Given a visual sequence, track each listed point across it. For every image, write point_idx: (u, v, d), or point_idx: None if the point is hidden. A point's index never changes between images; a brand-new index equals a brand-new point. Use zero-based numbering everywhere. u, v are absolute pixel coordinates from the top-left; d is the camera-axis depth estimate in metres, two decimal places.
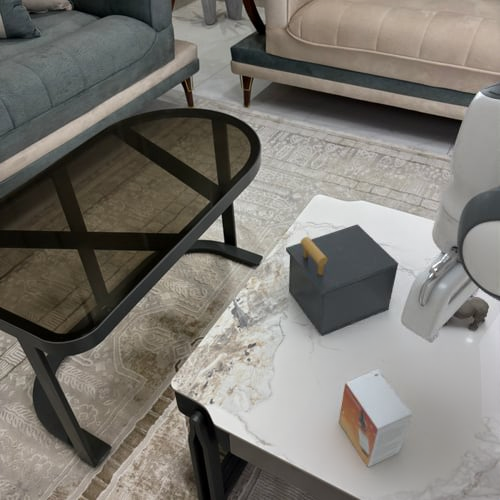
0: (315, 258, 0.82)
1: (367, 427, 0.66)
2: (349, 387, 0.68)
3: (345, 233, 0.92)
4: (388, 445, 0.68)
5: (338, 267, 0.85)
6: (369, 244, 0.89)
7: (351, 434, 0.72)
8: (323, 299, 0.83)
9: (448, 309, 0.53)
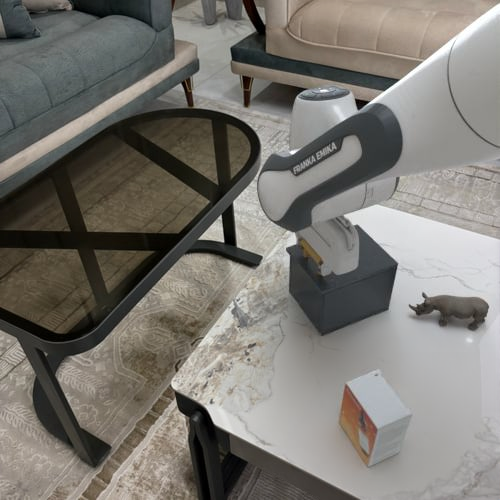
0: (315, 258, 0.82)
1: (367, 427, 0.66)
2: (349, 387, 0.68)
3: None
4: (388, 445, 0.68)
5: None
6: (369, 244, 0.89)
7: (351, 434, 0.72)
8: (323, 299, 0.83)
9: None
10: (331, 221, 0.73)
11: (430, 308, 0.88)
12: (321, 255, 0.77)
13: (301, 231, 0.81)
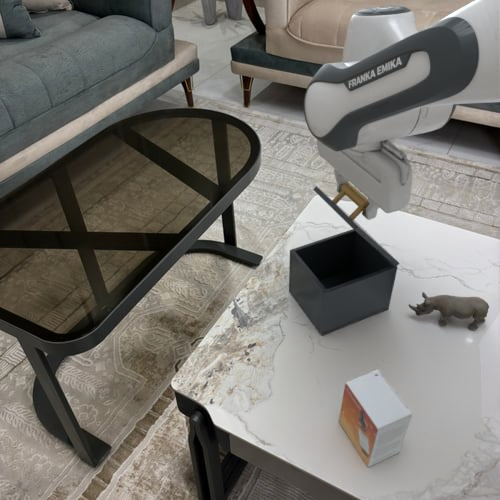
0: (361, 199, 0.78)
1: (367, 427, 0.66)
2: (350, 387, 0.68)
3: (353, 220, 0.91)
4: (388, 445, 0.68)
5: (361, 228, 0.82)
6: None
7: (351, 434, 0.72)
8: (323, 299, 0.83)
9: None
10: (383, 155, 0.69)
11: (430, 308, 0.88)
12: (369, 194, 0.74)
13: (345, 172, 0.78)
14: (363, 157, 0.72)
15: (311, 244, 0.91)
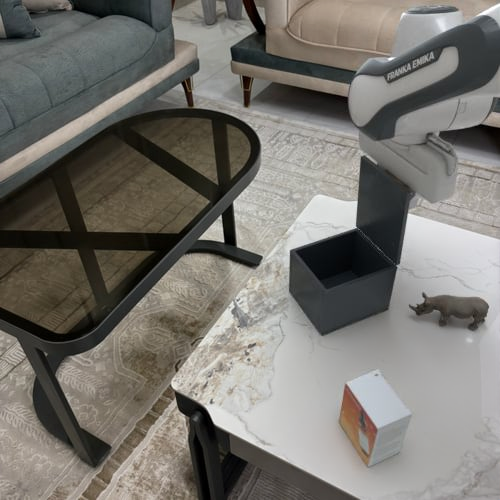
0: None
1: (367, 427, 0.66)
2: (350, 387, 0.68)
3: None
4: (388, 445, 0.68)
5: None
6: None
7: (351, 434, 0.72)
8: (323, 299, 0.83)
9: None
10: (428, 147, 0.72)
11: (430, 308, 0.88)
12: (413, 186, 0.77)
13: (388, 165, 0.81)
14: (408, 150, 0.75)
15: (311, 244, 0.91)
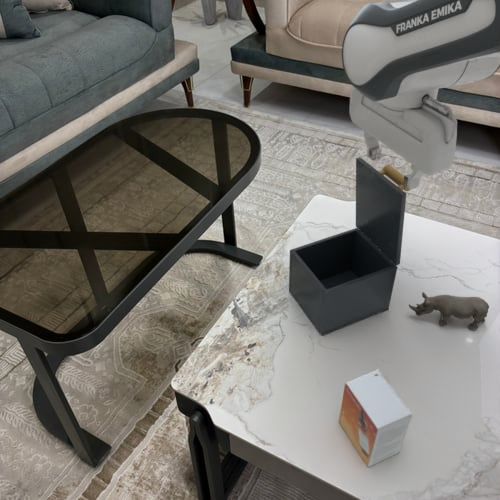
0: None
1: (367, 427, 0.66)
2: (349, 387, 0.68)
3: None
4: (388, 445, 0.68)
5: None
6: None
7: (351, 434, 0.72)
8: (323, 299, 0.83)
9: None
10: (424, 112, 0.65)
11: (430, 308, 0.88)
12: (408, 157, 0.69)
13: (381, 136, 0.74)
14: (402, 116, 0.68)
15: (311, 244, 0.91)
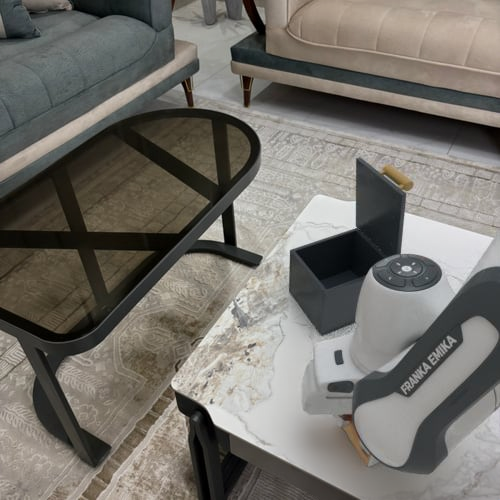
0: (406, 178, 0.80)
1: None
2: None
3: None
4: None
5: None
6: None
7: (351, 434, 0.72)
8: (323, 299, 0.83)
9: None
10: None
11: None
12: None
13: None
14: None
15: (311, 244, 0.91)
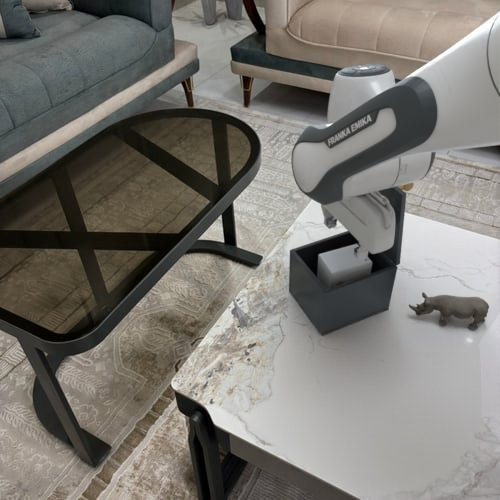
0: None
1: None
2: (352, 245, 0.90)
3: None
4: None
5: None
6: None
7: None
8: (323, 299, 0.83)
9: None
10: (367, 200, 0.74)
11: (430, 308, 0.88)
12: (355, 235, 0.78)
13: (334, 212, 0.82)
14: (349, 200, 0.76)
15: (311, 244, 0.91)
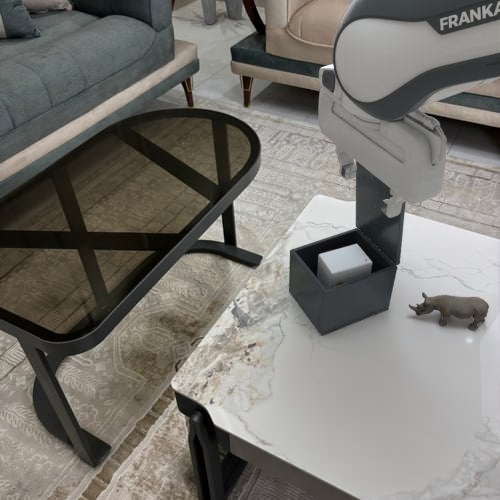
0: None
1: None
2: (352, 245, 0.90)
3: None
4: None
5: None
6: None
7: None
8: (323, 299, 0.83)
9: None
10: (406, 125, 0.52)
11: (430, 308, 0.88)
12: (387, 180, 0.56)
13: (355, 152, 0.60)
14: (379, 130, 0.54)
15: (311, 244, 0.91)
